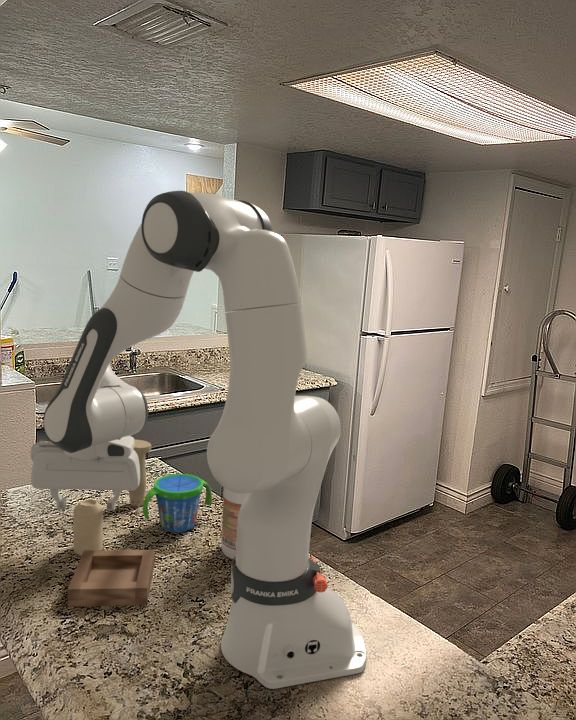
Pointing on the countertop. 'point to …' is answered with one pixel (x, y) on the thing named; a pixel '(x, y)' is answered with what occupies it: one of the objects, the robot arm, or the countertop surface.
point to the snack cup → (177, 501)
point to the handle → (139, 492)
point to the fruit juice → (230, 521)
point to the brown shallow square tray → (112, 578)
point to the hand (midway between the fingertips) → (86, 508)
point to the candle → (88, 526)
